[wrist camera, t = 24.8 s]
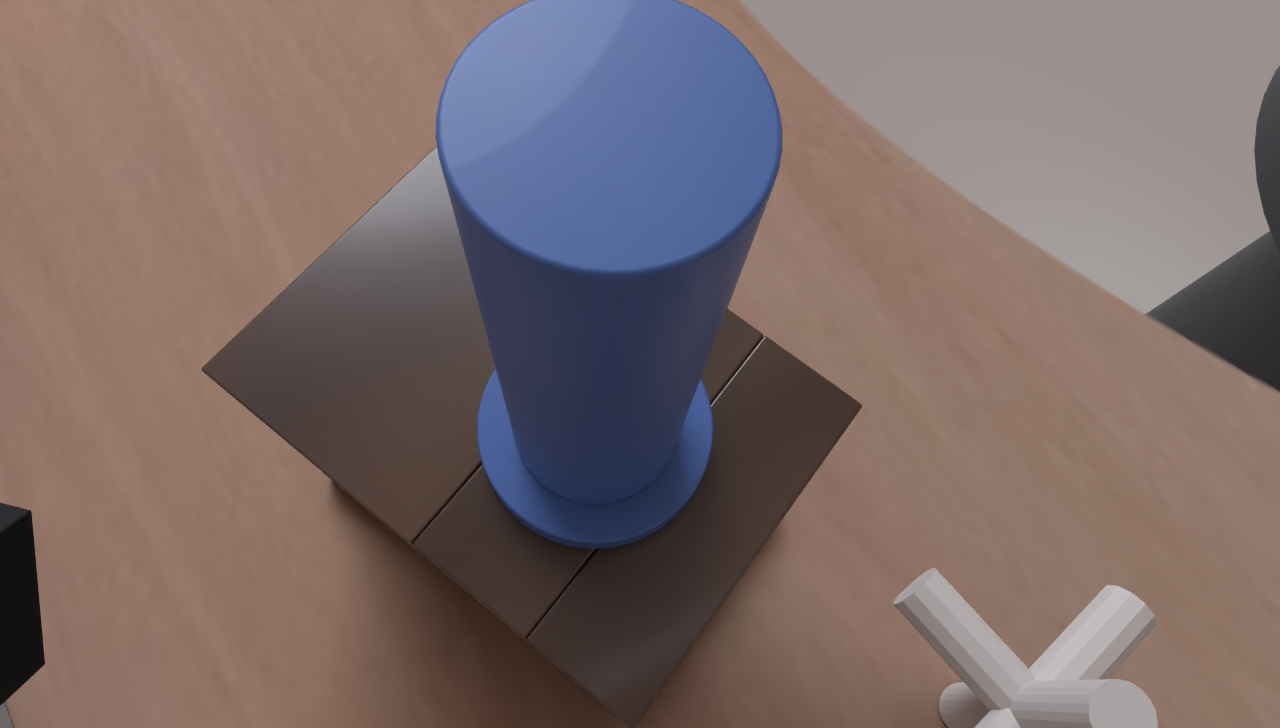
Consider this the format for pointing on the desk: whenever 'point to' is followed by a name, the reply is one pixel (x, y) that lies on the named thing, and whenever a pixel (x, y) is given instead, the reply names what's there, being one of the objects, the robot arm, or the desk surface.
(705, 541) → the stand
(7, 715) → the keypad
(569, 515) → the peg
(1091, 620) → the white crossed rods piece
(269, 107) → the desk surface
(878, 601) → the desk surface
